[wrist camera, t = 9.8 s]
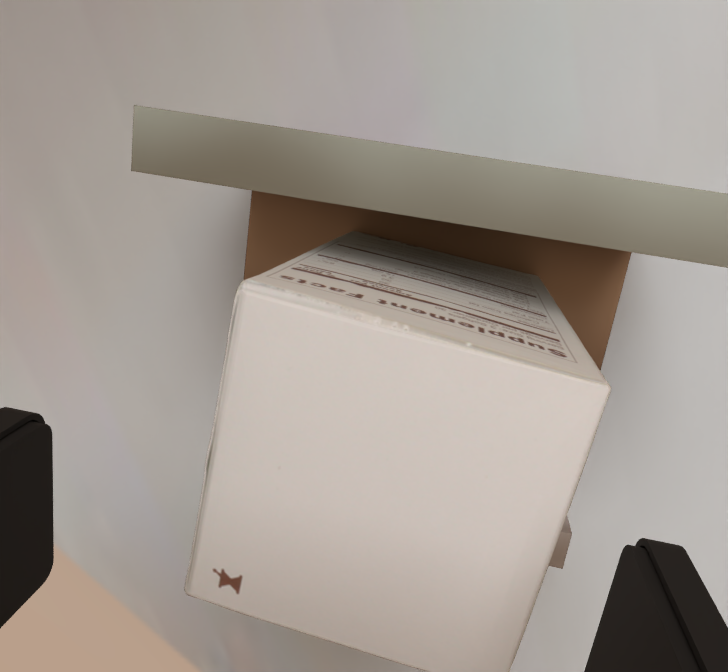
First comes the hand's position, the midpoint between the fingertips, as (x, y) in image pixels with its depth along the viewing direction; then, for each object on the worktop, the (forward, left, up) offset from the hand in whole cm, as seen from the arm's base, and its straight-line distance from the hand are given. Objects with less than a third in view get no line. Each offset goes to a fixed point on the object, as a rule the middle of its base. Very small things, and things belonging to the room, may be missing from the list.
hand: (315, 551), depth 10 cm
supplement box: (0, +1, -15) cm, 15 cm away
